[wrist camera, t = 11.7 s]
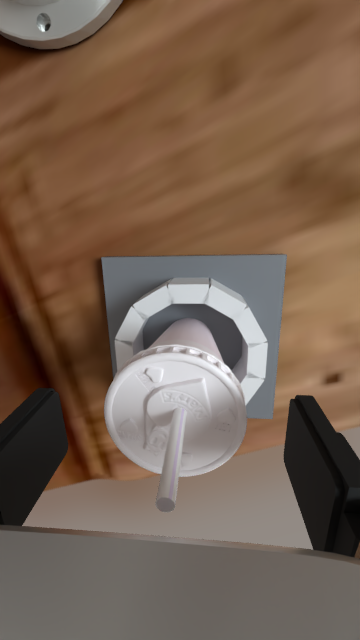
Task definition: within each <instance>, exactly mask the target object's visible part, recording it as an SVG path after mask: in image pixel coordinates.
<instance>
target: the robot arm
mask: <svg viewBox="0 0 360 640" xmlns="http://www.w3.org/2000/svg"><path fill="white" fill-rule="evenodd" d="M122 1H123V0H0V34H1V35H2V36H3V37H5V38H7V39H9V40H12V41H14V42H16V43H18V44H20V45H23V46H27V47H32V48H37V49H59V48H62V47H66V46H69V45H73V44H76V43H78V42H80V41H82V40H83V39H85V38H87V37H89V36H90V35H92V34H94V33H95V32H96V31H97V30H98V29H99V28H100V27H101V26H102V25H104V24H105V23H106V22H107V21H108V20H109V19H110V17H111V16H112V15H113V13H114V12H115V11H116V9H117V8H118V7H119V5H120V4H121V3H122ZM67 450H68V441H67V436H66V430H65V425H64V420H63V414H62V409H61V404H60V398H59V394H58V393H57V392H55V390H54V389H52V388H38V389H37V390H35V391H34V392H33V393H32V394H31V395H30V396H29V397H28V398H27V399H26V400H25V401H24V402H23V403H22V404H21V405H20V406H19V407H18V408H17V409H16V410H15V411H13V412H12V413H11V414H10V415H9V416H8V417H7V418H6V419H5V420H4V421H3V422H2V423H1V424H0V640H360V460H359V458H358V457H357V455H356V454H355V452H354V451H353V450H352V448H351V446H350V445H349V443H348V442H347V440H346V439H345V437H344V436H343V435H342V434H341V433H337V432H336V431H335V430H334V428H333V427H332V425H331V424H330V422H329V420H328V419H327V417H326V416H325V414H324V413H323V411H322V409H321V408H320V406H319V405H318V403H317V402H316V400H315V399H314V397H313V396H307V395H296V397H295V399H291V400H290V406H289V414H288V423H287V431H286V440H285V449H284V463H285V466H286V469H287V472H288V475H289V478H290V481H291V484H292V487H293V490H294V493H295V496H296V499H297V502H298V505H299V508H300V511H301V513H302V517H303V520H304V523H305V525H306V529H307V532H308V535H309V538H310V540H311V543H312V546H313V549H314V550H311V549H302V548H293V547H282V546H273V545H262V544H252V543H241V542H228V541H215V540H204V539H191V538H179V537H166V536H153V535H139V534H126V533H113V532H99V531H85V530H72V529H56V528H42V527H28V526H22V525H23V523H24V521H25V520H26V518H27V517H28V515H29V513H30V512H31V510H32V508H33V507H34V505H35V504H36V502H37V500H38V499H39V497H40V495H41V494H42V492H43V491H44V489H45V487H46V486H47V484H48V482H49V481H50V479H51V478H52V476H53V474H54V473H55V471H56V469H57V468H58V466H59V465H60V463H61V461H62V460H63V458H64V456H65V455H66V453H67Z"/></svg>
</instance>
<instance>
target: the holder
mask: <svg viewBox="0 0 360 640" xmlns="http://www.w3.org/2000/svg"><path fill="white" fill-rule="evenodd" d="M101 259H102V269H103V279H104V289H105V299H106V309H107V319H108V329H109V339H110V349H111V360H112V370H113V380H114V377H115V375H116V373H117V372H118V371H119V369H120V368H121V367H122V366H123V364H124V363H125V362H126V361H127V360H128V359H130V358H131V357H133V356H134V355H136V354H137V353H139V352H140V351H143V350H146V349H148V348H149V347H150V346H151V345H152V344H153V343H154V342H155V341H156V340H157V339H158V338H159V337H160V336H161V335H162V334H163V333H164V332H165V331H166V330H167V329H168V328H169V327H170V325H172V324H173V323H174V322H175V321H177V320H180V319H183V318H193V319H197V320H199V321H201V322H203V323H204V324H205V325H206V326H207V327H208V328H209V330H210V332H211V334H212V336H213V338H214V341H215V343H216V345H217V348H218V350H219V352H220V355H221V357H222V359H223V362H224V364H225V365H227V366H228V367H229V368H230V370H231V371H232V372H233V374H234V375H235V377H236V378H237V379H238V381H239V382H240V385H241V388H242V391H243V393H244V396H245V406H246V412H247V418H261V419H273V408H274V396H275V385H276V373H277V362H278V350H279V339H280V327H281V316H282V304H283V293H284V282H285V270H286V259H287V255H286V254H244V255H179V256H113V257H101Z"/></svg>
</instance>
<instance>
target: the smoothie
mask: <svg viewBox="0 0 360 640" xmlns="http://www.w3.org/2000/svg"><path fill="white" fill-rule="evenodd" d="M104 416H105V422H106V426H107V429H108V432H109V434H110V436H111V438H112V440H113V441H114V443H115V444H116V446H117V447H118V448H119V449H120V451H121V452H122V453H123V454H124V455H125V456H127V457H128V458H129V459H130V460H132V461H133V462H134V463H136V464H137V465H139V466H141V467H143V468H145V469H147V470H149V471H151V472H155V473H158V474H161V478H160V483H159V488H158V493H157V498H156V507H157V508H158V509H159V510H160V511H162V512H171V511H173V510H174V508H175V502H176V495H177V486H178V478H179V477H186V476H195V475H199V474H203V473H206V472H209V471H211V470H214V469H215V468H217V467H219V466H221V465H222V464H224V463H225V462H226V461H227V460H229V459H230V458H231V457H232V456H233V455H234V454H235V452H236V451H237V450H238V448H239V446H240V445H241V443H242V441H243V438H244V435H245V432H246V427H247V412H246V406H245V396H244V393H243V391H242V388H241V385H240V382H239V381H238V379H237V378H236V377H235V375H234V374H233V372H232V371H231V370H230V368H229V367H228V366H227V365H225V364H224V362H223V359H222V357H221V355H220V352H219V350H218V348H217V345H216V343H215V341H214V338H213V336H212V334H211V332H210V330H209V328H208V327H207V326H206V325H205V324H204V323H203V322H201V321H199V320H197V319H193V318H183V319H180V320H177V321H175V322H174V323H173V324H172V325H170V327H169V328H168V329H167V330H166V331H165V332H164V333H163V334H162V335H161V336H160V337H159V338H158V339H157V340H156V341H155V342H154V343H153V344H152V345H151V346H150V347H149V348H148V349H146V350H143V351H140V352H139V353H137V354H136V355H134V356H133V357H131V358H130V359H128V360H127V361H126V362H125V363H124V364H123V366H122V367H121V368H120V369H119V371H118V372H117V373H116V375H115V377H114V380H113V382H112V383H111V385H110V387H109V389H108V392H107V394H106V398H105V404H104Z"/></svg>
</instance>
